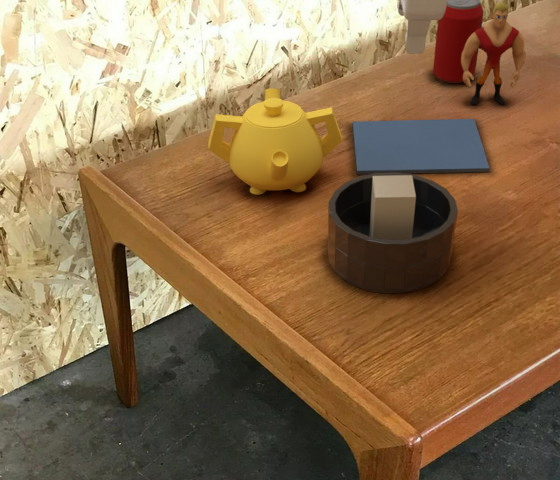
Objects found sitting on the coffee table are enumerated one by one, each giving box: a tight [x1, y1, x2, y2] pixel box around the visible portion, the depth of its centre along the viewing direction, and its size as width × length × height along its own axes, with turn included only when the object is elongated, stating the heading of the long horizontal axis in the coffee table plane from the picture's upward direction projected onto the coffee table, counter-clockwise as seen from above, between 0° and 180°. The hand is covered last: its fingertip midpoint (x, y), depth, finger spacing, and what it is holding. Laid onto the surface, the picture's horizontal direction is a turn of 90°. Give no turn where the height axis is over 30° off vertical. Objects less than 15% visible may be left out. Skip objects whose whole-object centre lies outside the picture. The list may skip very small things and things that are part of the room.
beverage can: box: [432, 0, 485, 84], centre depth 125 cm, size 7×7×12 cm
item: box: [369, 175, 416, 240], centre depth 92 cm, size 4×4×9 cm
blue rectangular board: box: [352, 118, 490, 175], centre depth 113 cm, size 18×14×1 cm
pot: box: [327, 172, 459, 295], centre depth 93 cm, size 15×15×7 cm
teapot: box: [207, 87, 343, 196], centre depth 105 cm, size 20×18×11 cm
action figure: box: [461, 1, 526, 106], centre depth 117 cm, size 10×4×15 cm, turn 87°
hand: (409, 31), depth 80 cm, fingers open, 8 cm apart
